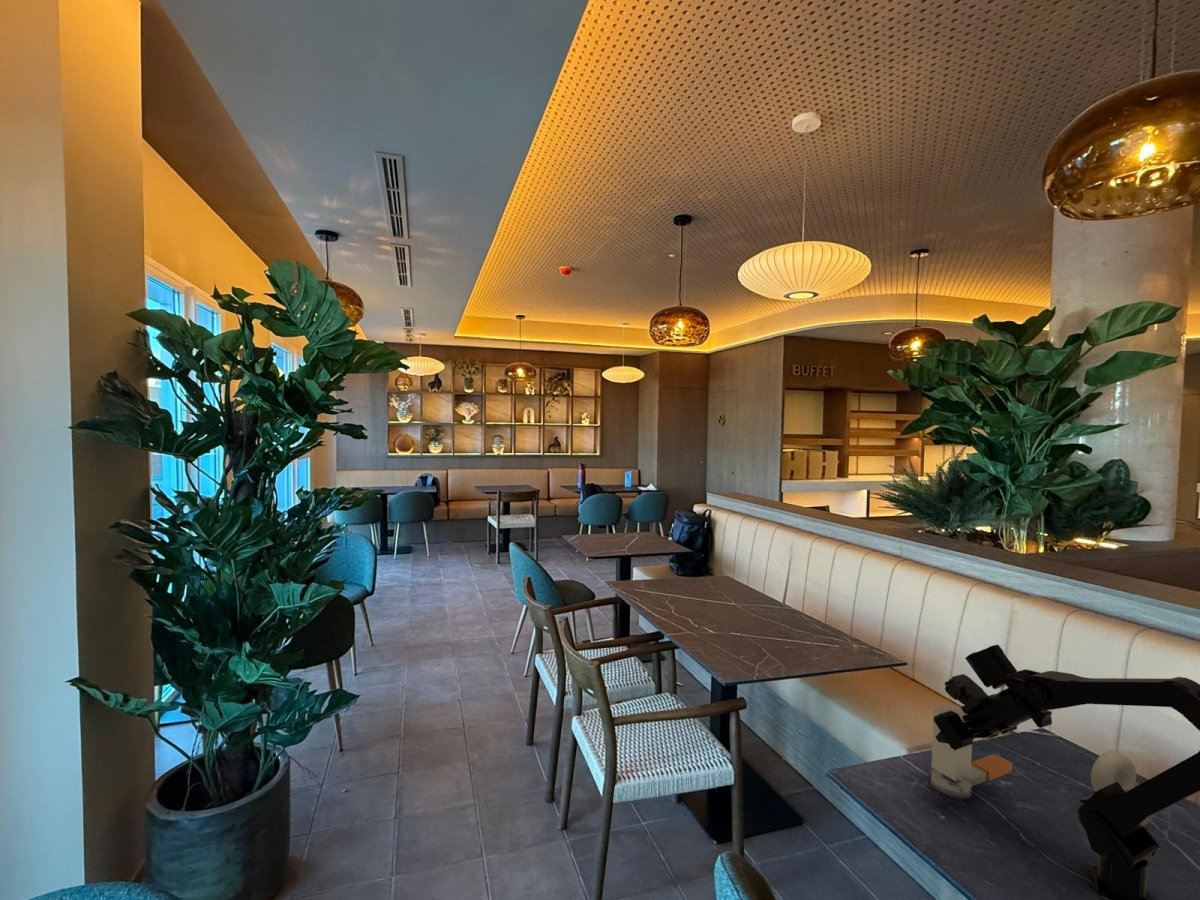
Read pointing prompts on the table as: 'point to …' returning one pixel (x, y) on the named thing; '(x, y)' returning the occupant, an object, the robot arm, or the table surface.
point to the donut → (1113, 771)
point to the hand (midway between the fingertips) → (945, 736)
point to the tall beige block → (950, 751)
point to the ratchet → (971, 776)
